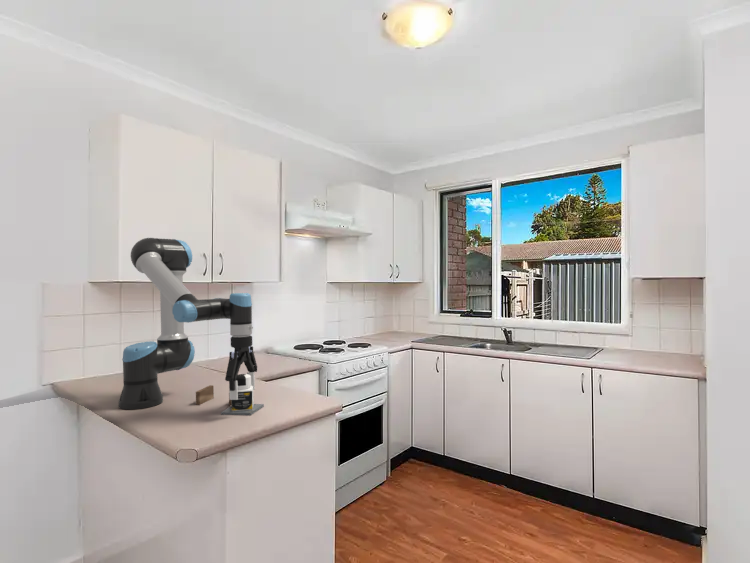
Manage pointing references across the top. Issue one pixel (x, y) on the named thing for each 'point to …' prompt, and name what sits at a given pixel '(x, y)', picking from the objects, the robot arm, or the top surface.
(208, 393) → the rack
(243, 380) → the medicine bottle
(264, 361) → the top surface
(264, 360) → the top surface
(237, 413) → the trivet
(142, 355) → the robot arm
